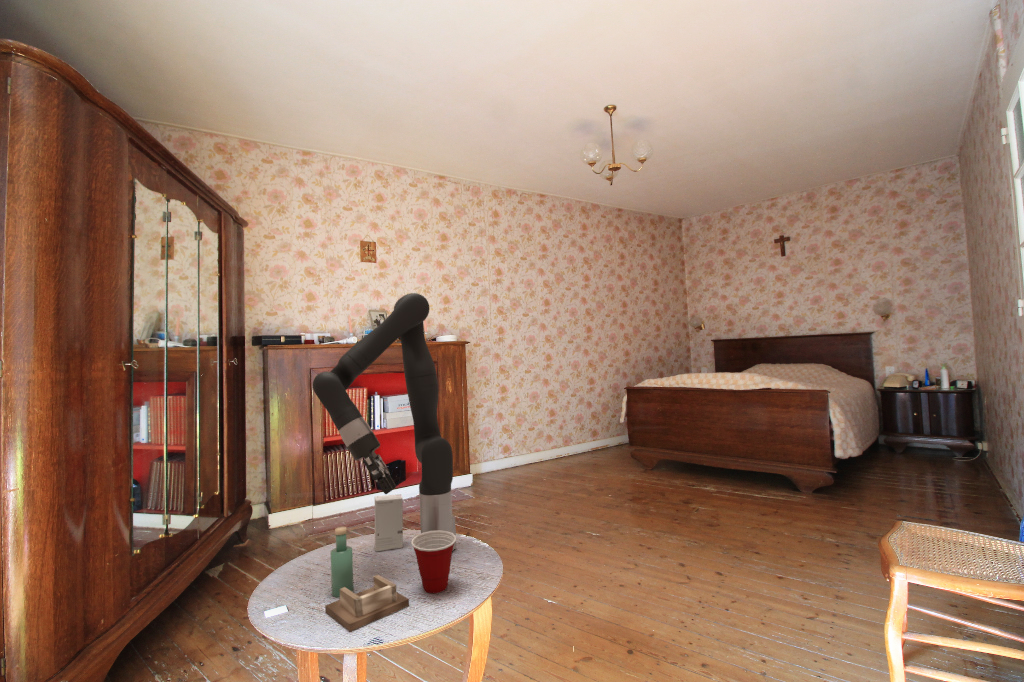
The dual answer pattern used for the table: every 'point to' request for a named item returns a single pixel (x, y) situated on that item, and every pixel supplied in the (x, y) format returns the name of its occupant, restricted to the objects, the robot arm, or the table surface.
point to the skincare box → (388, 522)
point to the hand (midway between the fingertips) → (391, 490)
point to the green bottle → (341, 563)
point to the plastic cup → (434, 558)
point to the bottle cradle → (366, 604)
